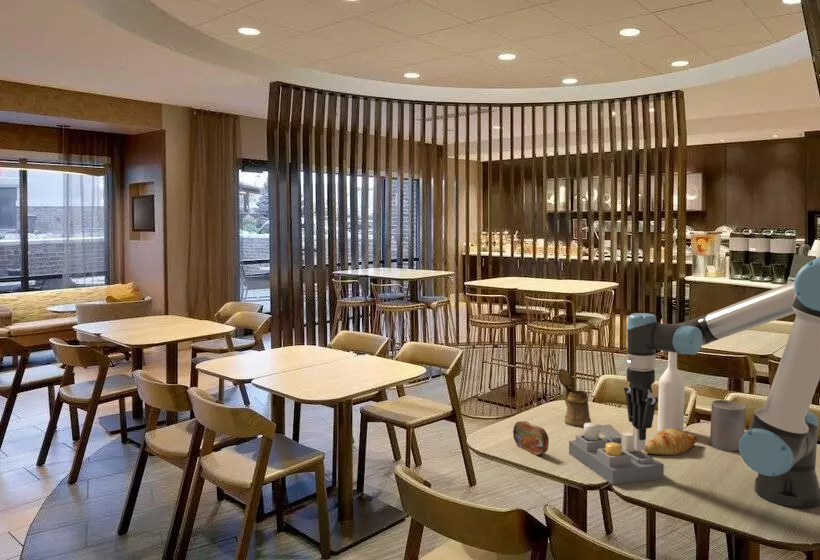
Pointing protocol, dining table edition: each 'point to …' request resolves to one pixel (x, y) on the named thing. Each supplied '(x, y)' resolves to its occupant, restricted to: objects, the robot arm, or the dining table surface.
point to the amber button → (613, 449)
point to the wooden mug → (574, 402)
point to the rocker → (610, 433)
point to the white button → (591, 431)
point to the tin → (531, 437)
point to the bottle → (671, 397)
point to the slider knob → (627, 442)
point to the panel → (615, 462)
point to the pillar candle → (727, 424)
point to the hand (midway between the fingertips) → (639, 449)
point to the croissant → (670, 442)
